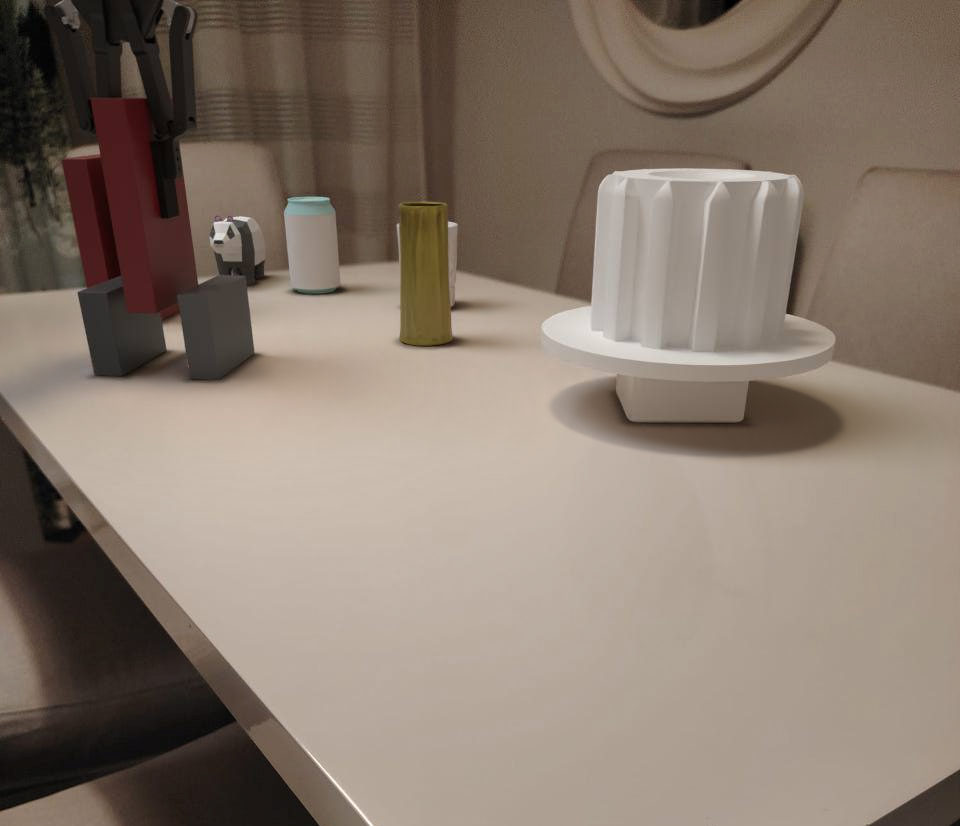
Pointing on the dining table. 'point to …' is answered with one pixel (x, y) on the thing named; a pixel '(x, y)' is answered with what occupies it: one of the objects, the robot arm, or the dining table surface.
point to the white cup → (451, 256)
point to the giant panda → (238, 247)
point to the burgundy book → (142, 209)
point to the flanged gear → (692, 292)
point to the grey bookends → (140, 337)
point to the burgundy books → (94, 221)
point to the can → (312, 245)
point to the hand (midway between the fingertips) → (152, 215)
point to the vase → (424, 274)
